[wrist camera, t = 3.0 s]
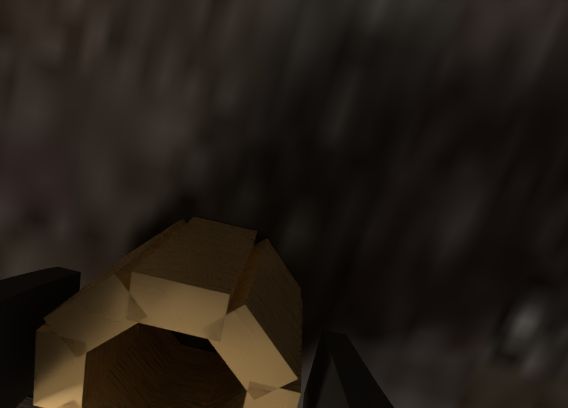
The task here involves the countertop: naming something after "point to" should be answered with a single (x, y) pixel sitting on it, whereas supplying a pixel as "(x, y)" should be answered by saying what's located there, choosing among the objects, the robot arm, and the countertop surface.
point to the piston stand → (27, 403)
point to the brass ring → (178, 328)
